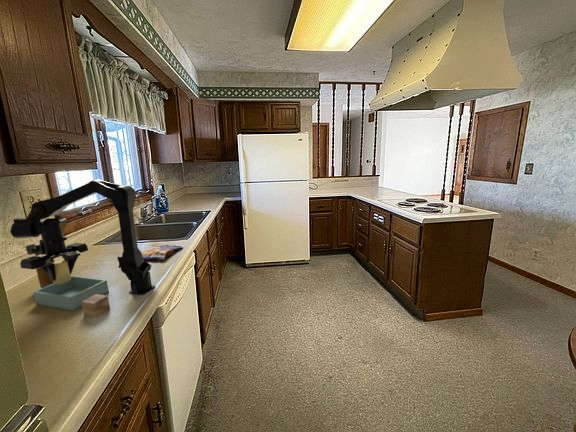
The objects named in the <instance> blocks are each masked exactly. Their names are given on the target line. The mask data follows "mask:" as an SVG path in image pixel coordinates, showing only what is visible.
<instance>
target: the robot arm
mask: <svg viewBox="0 0 576 432" xmlns="http://www.w3.org/2000/svg"><path fill="white" fill-rule="evenodd" d="M94 194H99V195H101V196H102V197H103V198H106V199H110V201H111V203H112V207H114V209H115V211H116V212H117V215H118V222H119V228H120V236H121V241H122V242H121V243H122V249H123V251H122V253H121V254H120V255H118V257H117V261H118V269H120V270H121V272H122V273H123V274H125V276H126V278H127V279H128V280H129V281H130V289H131V290H129V291H128V293H129V294H133V295H134V294H135V295H141V296H142V295H145V294H146V293H148V292H150V291H151V290H153V289H154V288H156V285H154V284H152V279H151V278H152V277H151V272H150V271H151V269H152V264H150V263H149V261H145V260H144V259H143V256H142V253H141V252H142V251H141V249H139V246H138V241H137V240H138V239H137V233H136V224H135V218H134V216H135V215H134V207H135V204H136V190H135V189H134V187H132V186H130V185H127V184H125V185H120V184H117V183H114V182H113V183H112V182H107V181H105V180H102V179H94V180H91V181H89V182H87V183H85V184H83V185H81V186H78V187H77V188H74V189H71V190H70V191H68V192H65V193H62V194H60V195H58V196H55V197H51V198H47V199H43V200H39V201H35V202H33V203H32V204H30V205H31V207H30V212H28V214H27V216H26V218H25V217H18V218H14V219H13V223H12V224H11V226H10V230H9V231H10V234H11V236H12V237H13V238H15V239H25V238H26V239H27V238H29V239H30V238H38V237H40V236H41V239H40V240H39V244H37V245H36V244H34V243H32V244H28V245H26V246H25V250H26V253H27V255H28V256H29V255H30V256H29V257H26V258H23V259H21V260H20V263H19V265H20V268H21V269H25V270H36V268H39V267H40V268H41V269H43V270H44V271H45V272H46V274H47V275H48V276H49V277H50V278H51V280H52V281H55V280H56V275H55V266H54V263H51V262H50V260H51V259H54V260H55V259H56V258H60V257H61V258H62V259H63V260H66V261H67V262H68V266H69V271H70V275H71V274H72V272H73V270H74V267H75V264H76V262H77V260H78V258H79V256H81V253H84V252H87V251H89V247H88V245H87V244H86V243H83V242H73V243H71V244H67V246H66V243H65V241H67V240H68V239H67V236H64V233H63V228H62V224H63V223H66V222H68V219H67V218H65V217H63V216H62V215H60V213H62V212H63V211H64V210H66V209H67V208H68V206H70V205H72V204H74V203H77V202H79V201H81V200H83V199H86V198H88V197H89V196H92V195H94ZM56 215H57V216H56ZM53 216H55V217H53ZM50 217H51V218H50ZM52 217H53V218H52ZM31 255H32V256H31ZM40 255H42V256H40Z"/></svg>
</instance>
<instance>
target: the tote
mask: <svg viewBox="0 0 576 432" xmlns="http://www.w3.org/2000/svg"><path fill="white" fill-rule="evenodd" d="M40 288H41V287H40ZM40 288H38V289H39V290H38V289H36V290H37V291H36V290H34V291H33V296H34V300H35V304H36V305H37V306H41V307H47V308H52V309H58V310H63V311H64V310H65V311H69V312H75V311H77V310H79V309H80V308H83V307H82V301H84V300H86V299H87V298H89V297H91V296H93V295H95V294H99V295H107V294H108V293H110V292H109V286H108V281H107V279H101V278H93V277H87V276H77V275H71V280H70V281H69V282H66V283H63V284H54V283H53V284H51V285H49V286H46V287H44V288H41V289H40Z"/></svg>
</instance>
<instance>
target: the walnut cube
mask: <svg viewBox="0 0 576 432" xmlns="http://www.w3.org/2000/svg"><path fill="white" fill-rule="evenodd" d="M81 308H82V311H83V316H85V317H91V318H98V317H99V316H101V315H103V314H105V313H106V312H108V311H109V310H111V306H110V301H109V296H108V295H107V294H105V295H99V294H95V295H93V296H91V297H89V298H87V299H86V300H84V301H82V307H81Z"/></svg>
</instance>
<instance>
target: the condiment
mask: <svg viewBox="0 0 576 432" xmlns="http://www.w3.org/2000/svg"><path fill="white" fill-rule="evenodd" d="M50 262H51V263H54V262H56V261H55V258H54V259H51V260H50ZM35 270H36V274H37V277H38V283H39V287H40V288H37V289H36V290H35V291H37V290H39V289H41V288H44V287H46V286H49V285H51V284H53V281H52V280H51V278H50V277H49V276H48V275H47V274H46V272H45V271H44V270H43V269H41V268H40V267H39V268H36V269H35Z"/></svg>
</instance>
